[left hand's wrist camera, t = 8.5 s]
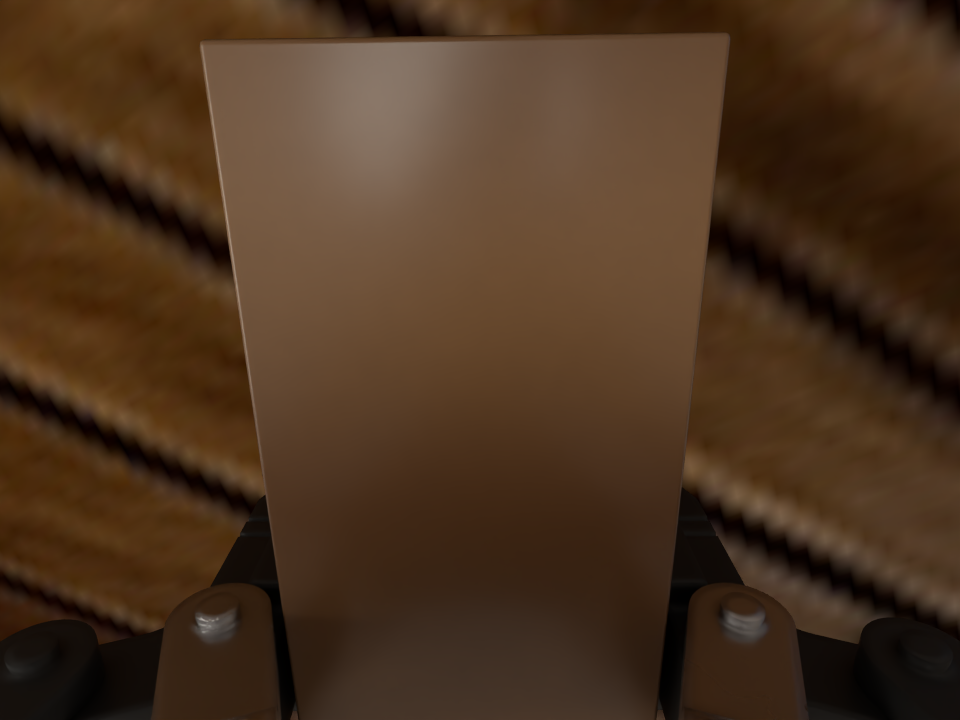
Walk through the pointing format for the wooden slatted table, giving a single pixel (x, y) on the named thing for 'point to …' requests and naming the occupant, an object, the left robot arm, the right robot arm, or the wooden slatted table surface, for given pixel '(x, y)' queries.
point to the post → (471, 355)
